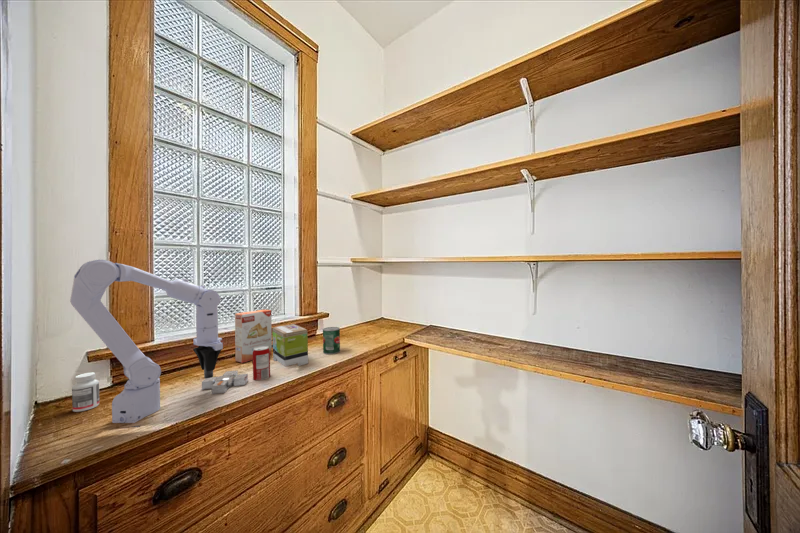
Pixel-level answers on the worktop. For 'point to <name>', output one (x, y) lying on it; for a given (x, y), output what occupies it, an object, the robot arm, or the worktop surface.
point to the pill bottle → (85, 392)
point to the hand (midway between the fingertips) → (208, 369)
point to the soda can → (261, 363)
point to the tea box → (290, 345)
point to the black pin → (207, 373)
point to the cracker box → (252, 333)
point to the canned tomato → (331, 340)
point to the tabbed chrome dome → (224, 381)
